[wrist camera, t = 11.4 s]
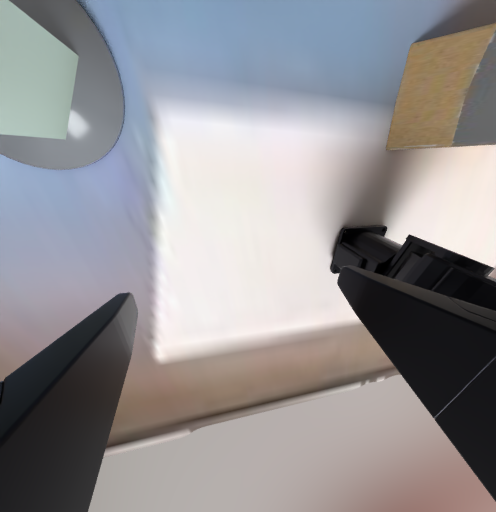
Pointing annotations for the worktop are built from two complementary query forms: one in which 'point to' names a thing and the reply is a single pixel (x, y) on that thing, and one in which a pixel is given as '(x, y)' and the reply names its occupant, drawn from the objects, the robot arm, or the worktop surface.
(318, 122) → the worktop surface
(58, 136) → the pale green block
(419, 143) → the sandwich container
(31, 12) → the coaster
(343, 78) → the worktop surface
